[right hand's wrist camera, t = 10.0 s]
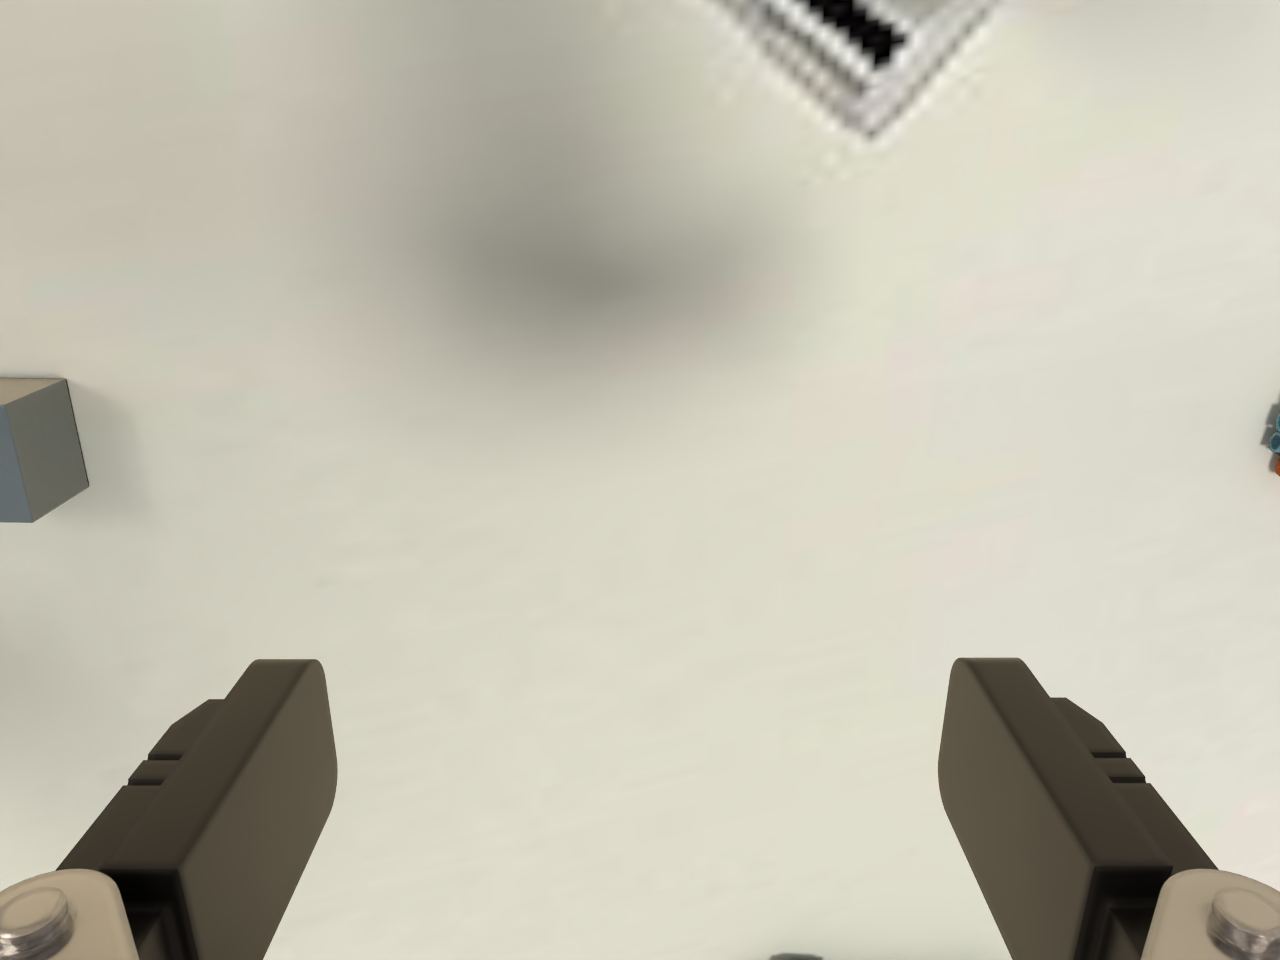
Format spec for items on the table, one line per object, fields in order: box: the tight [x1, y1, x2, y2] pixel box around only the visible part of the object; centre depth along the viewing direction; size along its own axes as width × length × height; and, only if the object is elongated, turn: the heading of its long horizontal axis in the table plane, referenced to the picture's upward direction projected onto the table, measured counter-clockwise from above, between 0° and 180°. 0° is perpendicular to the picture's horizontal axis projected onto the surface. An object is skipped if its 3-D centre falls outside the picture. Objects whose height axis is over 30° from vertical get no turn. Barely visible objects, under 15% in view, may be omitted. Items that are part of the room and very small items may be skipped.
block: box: [0, 378, 88, 523], centre depth 39 cm, size 4×5×4 cm
